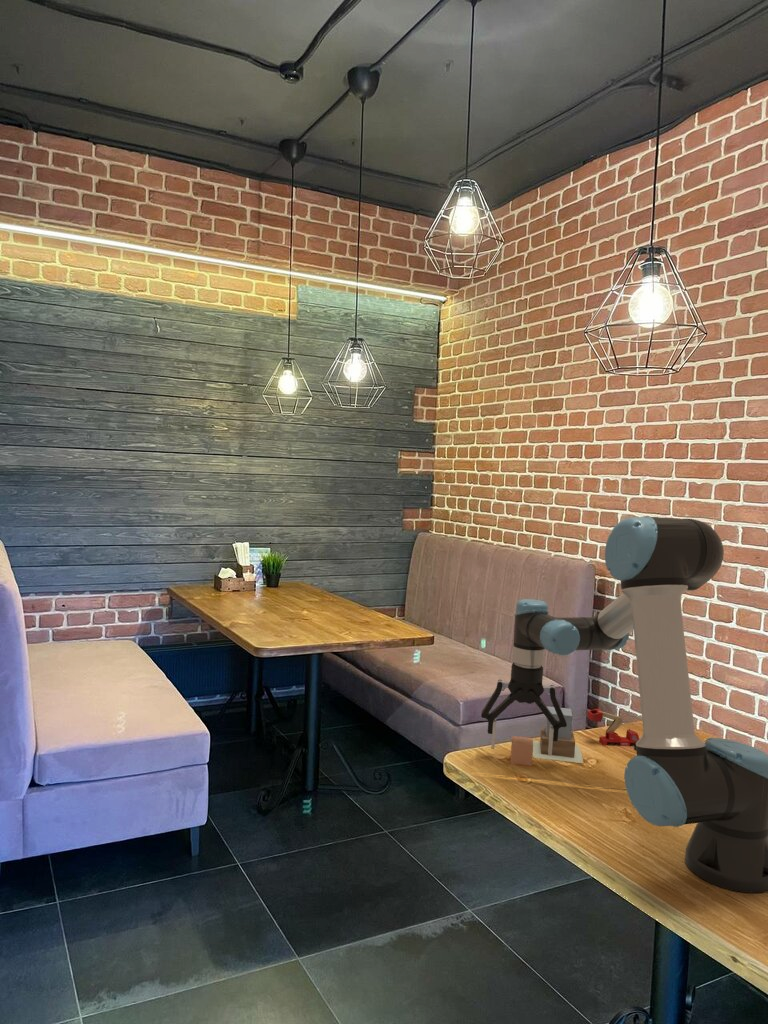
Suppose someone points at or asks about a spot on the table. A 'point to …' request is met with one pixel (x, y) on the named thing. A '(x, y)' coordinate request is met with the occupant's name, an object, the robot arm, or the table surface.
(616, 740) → the toy fire truck
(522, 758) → the terracotta brick
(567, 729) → the slate brick
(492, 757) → the table surface
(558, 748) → the walnut base
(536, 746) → the plate
